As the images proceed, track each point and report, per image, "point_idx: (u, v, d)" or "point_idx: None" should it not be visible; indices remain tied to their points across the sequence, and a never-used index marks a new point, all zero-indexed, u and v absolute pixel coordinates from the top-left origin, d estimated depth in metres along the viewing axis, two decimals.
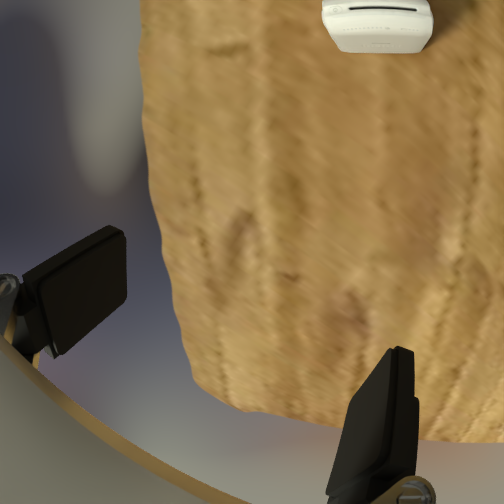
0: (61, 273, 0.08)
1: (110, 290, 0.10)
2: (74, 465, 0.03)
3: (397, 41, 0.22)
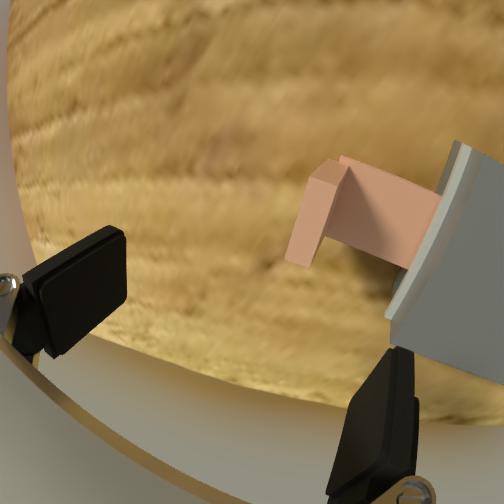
0: (61, 273, 0.08)
1: (110, 290, 0.10)
2: (74, 465, 0.03)
3: None
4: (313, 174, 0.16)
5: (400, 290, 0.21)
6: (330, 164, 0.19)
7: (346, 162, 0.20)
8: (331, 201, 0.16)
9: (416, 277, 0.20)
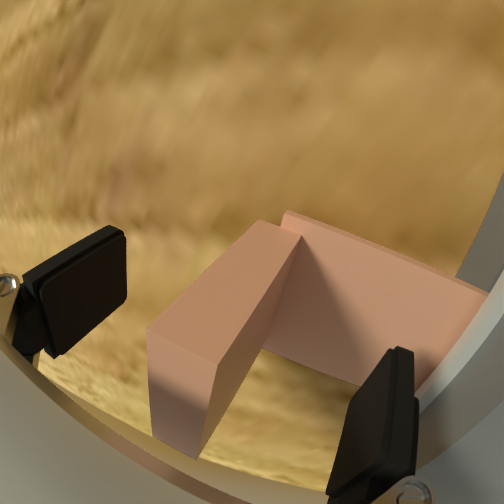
0: (61, 273, 0.08)
1: (110, 290, 0.10)
2: (74, 465, 0.03)
3: None
4: (167, 312, 0.06)
5: None
6: (252, 243, 0.09)
7: (296, 227, 0.10)
8: (209, 389, 0.06)
9: None
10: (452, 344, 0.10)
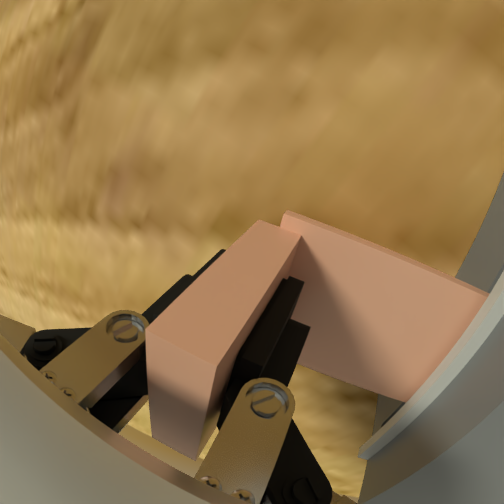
0: None
1: None
2: (74, 465, 0.03)
3: None
4: (166, 313, 0.06)
5: (386, 433, 0.11)
6: (252, 243, 0.09)
7: (295, 228, 0.10)
8: (208, 390, 0.06)
9: (414, 423, 0.10)
10: (452, 345, 0.10)
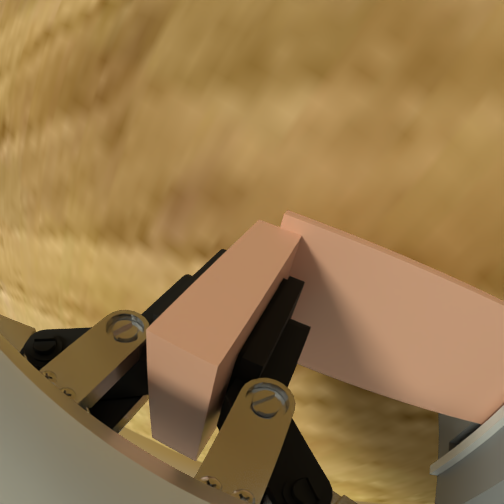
0: None
1: None
2: (74, 465, 0.03)
3: None
4: (167, 314, 0.06)
5: (461, 452, 0.10)
6: (252, 243, 0.09)
7: (296, 228, 0.10)
8: (209, 390, 0.06)
9: (490, 442, 0.09)
10: (452, 345, 0.10)
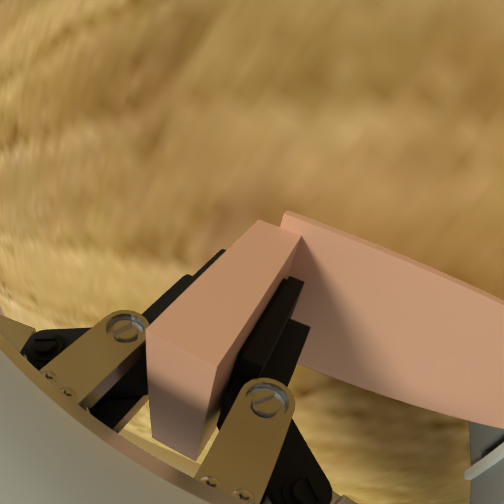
0: None
1: None
2: (74, 465, 0.03)
3: None
4: (167, 314, 0.06)
5: (496, 457, 0.10)
6: (252, 244, 0.09)
7: (295, 228, 0.10)
8: (209, 390, 0.06)
9: None
10: (452, 345, 0.10)
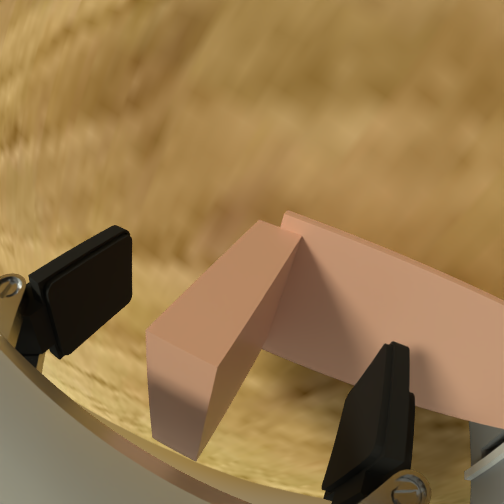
0: (68, 273, 0.08)
1: (116, 290, 0.10)
2: (74, 465, 0.03)
3: None
4: (167, 314, 0.06)
5: (496, 458, 0.10)
6: (252, 244, 0.09)
7: (296, 228, 0.10)
8: (209, 391, 0.06)
9: None
10: (452, 345, 0.10)
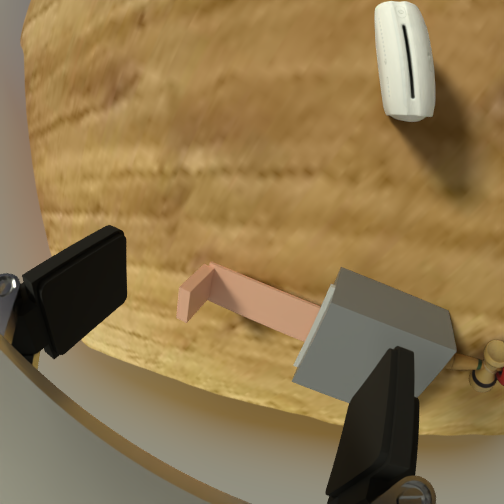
0: (61, 273, 0.08)
1: (110, 290, 0.10)
2: (74, 465, 0.03)
3: (381, 79, 0.22)
4: (182, 284, 0.37)
5: (300, 353, 0.40)
6: (200, 270, 0.40)
7: (212, 266, 0.41)
8: (189, 297, 0.36)
9: (307, 348, 0.39)
10: (260, 299, 0.40)
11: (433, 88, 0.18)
